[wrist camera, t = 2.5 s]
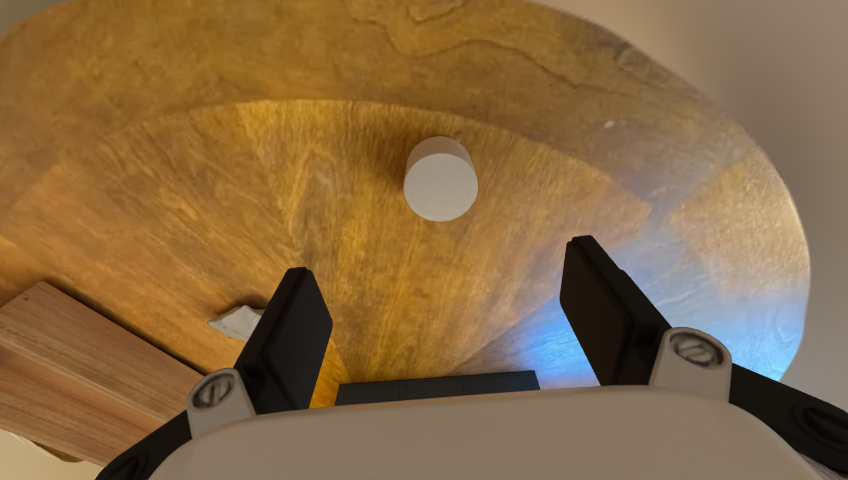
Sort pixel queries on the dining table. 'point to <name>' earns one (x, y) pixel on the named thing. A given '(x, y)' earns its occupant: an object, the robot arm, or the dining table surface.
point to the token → (439, 179)
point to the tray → (82, 378)
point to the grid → (435, 388)
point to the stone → (237, 322)
